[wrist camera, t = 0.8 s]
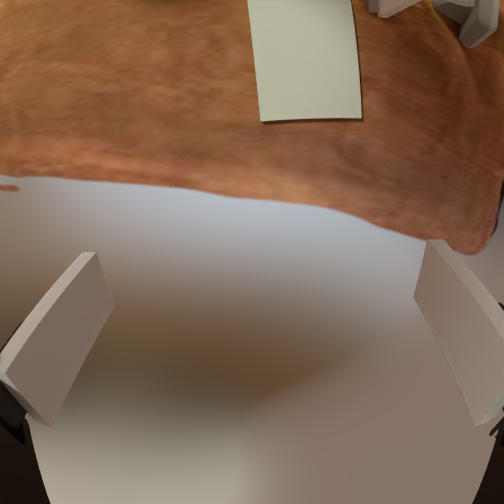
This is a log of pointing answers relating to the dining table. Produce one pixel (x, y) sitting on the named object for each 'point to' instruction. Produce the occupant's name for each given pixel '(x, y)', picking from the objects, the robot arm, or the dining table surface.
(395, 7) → the screen
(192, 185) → the dining table surface
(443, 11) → the digital clock
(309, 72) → the mat
